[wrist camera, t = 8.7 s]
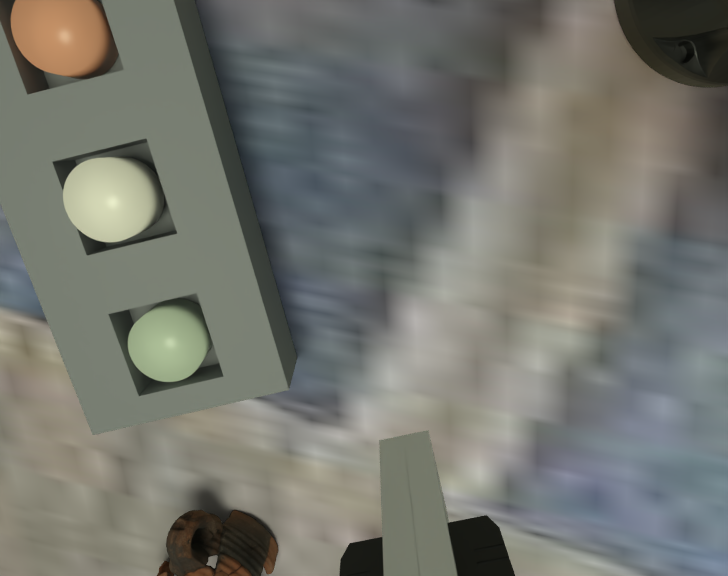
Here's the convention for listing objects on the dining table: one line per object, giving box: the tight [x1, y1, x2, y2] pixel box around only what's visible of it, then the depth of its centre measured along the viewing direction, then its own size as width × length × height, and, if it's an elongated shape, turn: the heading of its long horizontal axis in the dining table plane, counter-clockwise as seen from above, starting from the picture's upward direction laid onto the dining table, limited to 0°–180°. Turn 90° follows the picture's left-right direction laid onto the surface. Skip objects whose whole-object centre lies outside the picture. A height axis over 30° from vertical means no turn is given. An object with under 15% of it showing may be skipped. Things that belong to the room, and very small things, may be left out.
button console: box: [0, 0, 297, 435], centre depth 38 cm, size 14×30×6 cm, turn 13°
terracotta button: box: [11, 0, 118, 80], centre depth 34 cm, size 5×5×3 cm
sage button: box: [128, 298, 213, 382], centre depth 39 cm, size 5×5×3 cm
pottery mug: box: [157, 510, 278, 576], centre depth 47 cm, size 12×10×8 cm
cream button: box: [63, 156, 164, 242], centre depth 36 cm, size 5×5×3 cm
